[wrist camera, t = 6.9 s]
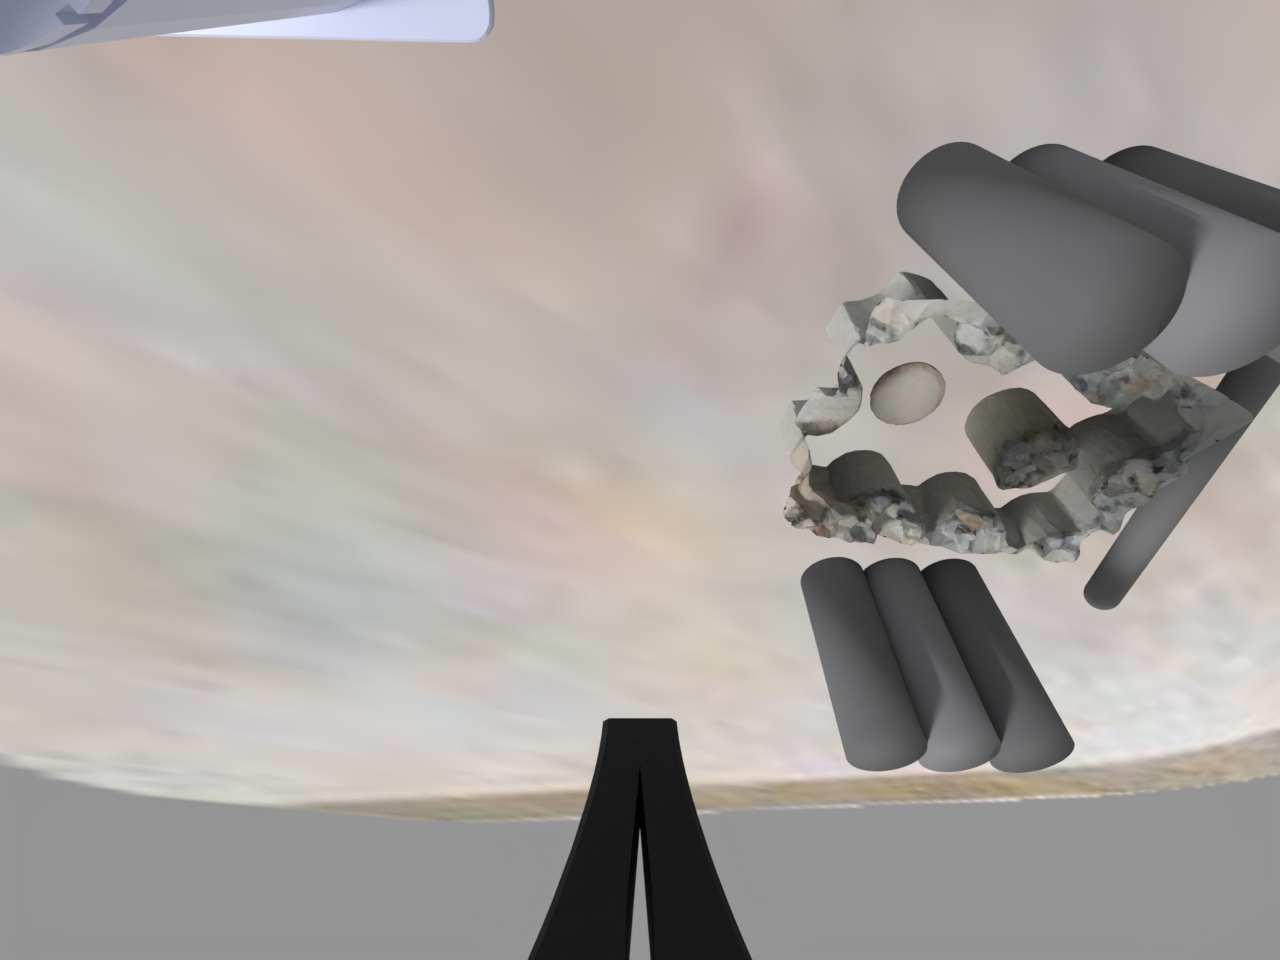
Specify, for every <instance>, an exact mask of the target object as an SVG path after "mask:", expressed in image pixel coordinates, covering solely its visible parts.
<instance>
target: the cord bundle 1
mask: <svg viewBox="0 0 1280 960" xmlns="http://www.w3.org/2000/svg"><path fill="white" fill-rule="evenodd" d="M801 587H802V591H803V595H804V599H805V603H806V607H807V611H808V614H809V618H810V622H811V626H812V630H813V634H814V637H815V641H816V645H817V649H818V653H819V657H820V660H821V664H822V668H823V672H824V676H825V680H826V684H827V687H828V691H829V695H830V699H831V703H832V707H833V710H834V714H835V718H836V722H837V726H838V730H839V733H840V737H841V741H842V745H843V749H844V753H845V756H846V760H847V761H848V763H849V764H850V765H852V766H853V767H855V768H858V769H861V770H865V771H876V772H877V771H890V770H895V769H899V768H903V767H905V766H908V765H910V764H912V763H914V762H916V761H917V760H918V761H919V763H920V764H921V765H922V766H923V767H925V768H927V769H929V770H932V771H937V772H958V771H964V770H969V769H972V768H975V767H978V766H981V765H983V764H985V763H987V762H989V761H990V763H991V765H992V766H993V767H994V768H996V769H998V770H1000V771H1003V772H1009V773H1026V772H1033V771H1038V770H1042V769H1045V768H1048V767H1051V766H1053V765H1055V764H1058V763H1059V762H1061V761H1063V760H1064V759H1066V758H1067V757H1068V756H1069V755H1070V754H1071V753H1072V752H1073V750H1074V747H1075V743H1074V741H1073V739H1072V737H1071V735H1070V733H1069V732H1068V730H1067V728H1066V726H1065V725H1064V723H1063V721H1062V719H1061V718H1060V716H1059V714H1058V712H1057V710H1056V709H1055V707H1054V705H1053V703H1052V702H1051V700H1050V698H1049V696H1048V694H1047V693H1046V691H1045V689H1044V687H1043V686H1042V684H1041V682H1040V680H1039V678H1038V677H1037V675H1036V673H1035V671H1034V670H1033V668H1032V666H1031V664H1030V662H1029V661H1028V659H1027V657H1026V655H1025V654H1024V652H1023V650H1022V648H1021V646H1020V645H1019V643H1018V641H1017V639H1016V638H1015V636H1014V634H1013V632H1012V630H1011V629H1010V627H1009V625H1008V623H1007V622H1006V620H1005V618H1004V616H1003V614H1002V613H1001V611H1000V609H999V607H998V606H997V604H996V602H995V600H994V598H993V597H992V595H991V593H990V591H989V590H988V588H987V586H986V584H985V582H984V581H983V579H982V577H981V575H980V574H979V572H978V570H977V568H976V567H975V565H974V564H972V563H971V562H969V561H967V560H964V559H956V558H953V559H945V560H940V561H937V562H935V563H932V564H930V565H928V566H927V567H925V568H924V569H923V570H921V571H920V569H919V567H918V566H917V564H915V563H914V562H913V561H911V560H908V559H905V558H887V559H883V560H880V561H877V562H875V563H873V564H871V565H869V566H868V567H867V568H865V569H864V570H863V569H862V567H861V566H860V564H859V563H857V562H856V561H854V560H852V559H849V558H845V557H830V558H825V559H822V560H820V561H817V562H815V563H814V564H812V565H811V566H809V567H808V568H807V569H806V570H805V571H804V573H803V575H802V577H801Z"/></svg>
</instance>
